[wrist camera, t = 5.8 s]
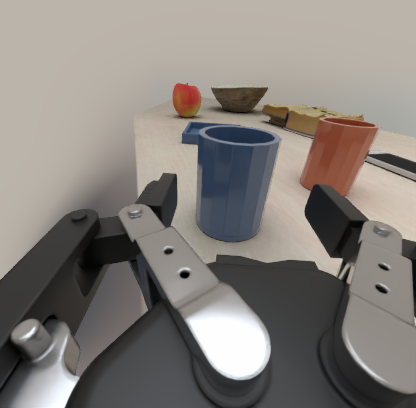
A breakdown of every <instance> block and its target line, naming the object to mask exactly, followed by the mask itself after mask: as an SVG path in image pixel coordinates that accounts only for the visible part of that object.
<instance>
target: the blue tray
mask: <svg viewBox="0 0 416 408" xmlns="http://www.w3.org/2000/svg"><path fill="white" fill-rule="evenodd" d="M221 125H229V126H230V125H232V124H217V123H202V122H189V124H188V125H187V127H186V129H185V130H184V132H183V133H182V143H188V144H198V133H199V131H200V129H203V128H205V127H210V126H221ZM232 126H241V125H232Z"/></svg>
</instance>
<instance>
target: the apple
mask: <svg viewBox="0 0 416 408" xmlns="http://www.w3.org/2000/svg"><path fill="white" fill-rule="evenodd" d="M173 104H174V107H175V109H176V111H177V112H178V114H179V115H181V116H182V117H192V116H194V115H195V114H196V113H197V112H198V110H199V108H200V106H201V94H200V92H199V90H198V88H197V87H195V86H189V85H188V83H187V85H186V84H176V85H175V87H174V90H173Z"/></svg>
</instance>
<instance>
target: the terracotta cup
mask: <svg viewBox="0 0 416 408" xmlns="http://www.w3.org/2000/svg"><path fill="white" fill-rule="evenodd" d="M380 128H381V127H380V126H379V125H377V124H374V123H371V122H365V121H361V120H354V119H346V118H335V117H323V118H319V121H318V125H317V128H316V131H315V134H314V137H313V140H312V143H311V147H310V150H309V153H308V156H307V159H306V162H305V165H304V169H303V172H302V175H301V179H300V182H301V184H302V185H303V186H304V187H306V188H307V189H309V190H312V188H313V186H314V185H315V184H323V185H331V186H332V187H333V188H334V189H335V190H336V191H337V192H338V193H339V194H340V195H341V196H345V195H347V194H349V192H350V190H351V189H352V187H353V185H354V183H355V181H356V179H357V177H358V174H359V172H360V170H361V168H362V166H363V164H364V162H365V160H366V158H367V156H368V153H369V151H370V149H371V147H372V145H373V143H374V141H375V139H376V137H377V135H378V133H379V130H380Z"/></svg>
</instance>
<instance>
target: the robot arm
mask: <svg viewBox="0 0 416 408" xmlns="http://www.w3.org/2000/svg"><path fill="white" fill-rule="evenodd" d="M176 207H177V175H176V174H170V173H163V174H162V176H161V178H160V179H159V181H152V182H151V183H149V184H147V186H146V187H145V190H143V192H142V194H141V195H140V197H139V198H138V200H137V201H136V203H135V204H133V205H129V206H126V207H124V208H122V209H121V210H120V212H119V214H118V216H115V217H108V218H99V216H98V213H97V212H96V211H94V210H91V209H82V210H77V211H73V212H71V213H69V214H67V215H65V216H64V217H63V218H62V219H61V220H60V221H59V222H58V223H57V224H56V225H55V226H54V227H53V228H52V229H51V230H50V231H49V232H48V233H47V234H46V235H45V236H44V237H43V238H42V239H41V240H40V241H39V242H38V243H37V244H36V245H35V246H34V247H33V248H32V249H31V250H30V251H29V252H28V253H27V254H26V255H25V256H24V257H23V258H22V259H21V260H20V261H19V262H18V263H17V264H16V265H15V266H14V267H13V268H12V269H11V270H10V271H9V272H8V273H7V274H6V275H5V276H4V277H3V278H2V279H1V280H0V408H416V326H415V322H414V316H415V318H416V242H414V241H410V240H406V239H402V235H401V234H400V233H399V232H398V231H397V230H396V229H394V228H393V227H391V226H389V225H387V224H384V223H381V222H378V221H370V220H369V219H367V218H366V217H365V216H364V215H363V214H362V213H361V212H360V211H359V210H358V209H357V208H356V207H355V206H354V205H352V203H351V202H350V201H349V200H348V199H346V198H345V197H343V196H341V195H340V194H339V193H338V192H337V191H336V190H335V189H334V188H333V187H332V186H331V185H323V184H315V185H314V186H313V188H312V190H311V193H310V196H309V198H308V201H307V204H306V207H305V217H306V218H307V220H308V222H309V223H310V225H311V227H312V228H313V230H314V231H315V233H316V235H317V236H318V238H319V240H320V241H321V243H322V244H323V246H324V248H325V249H326V251H327V252H328V254H329V256H330V257H331V258H342V259H343V260H342V262H341V264H340V266H339V269H338V272H337V274H336V277H335V276H334V275H331V274H329V273H327V272H324V271H321V270H318V268H317V266H316V264H315V262H312V261H299V260H286V261H279V262H272V263H264V262H260V261H257V260H253V259H249V258H245V257H242V256H230V255H217V257H216V262H212V263H208V264H205V263H204V262H203V261H202V260H201V258H200V257H199V256H198V255H197V254H196V252H195V251H194V250H193V249H192V248H191V247H190V245H189V244H188V243H187V242H186V241H185V239H184V238H183V237H182V236H181V235H180V233H179V232H178V231H177V230H176V229H175V228H174V227H173V226H171V222H172V219H173V216H174V213H175V210H176ZM123 261H128V262H129V264H130V266H131V268H132V271H133V273H134V275H135V277H136V279H137V282H138V284H139V286H140V288H141V290H142V293H143V296H144V300H145V303H146V305H147V308H148V311H147V312H146V313H145V314H144V315H143V316H141V317H140V318H139V319H138V320H137V321H136V322H135V323H134V324H133V325H132V326H130V327H129V328H128V329H127V330H126V331H125V332H124V333H123V334H122V335H120V336H119V337H118V338H117V339H116V340H115V341H114V342H113V343H111V344H110V345H109V346H108V347H107V348H106V349H105V350H104V351H103V352H102V353H100V355H98V356H97V357H96V358H95V359H94V360H93V361H92V362H91V363H90V365H89V366H88V367H87V368H86V370H85V371H84V372H83V374H82V375H81V377H77V376H76V367H77V364H78V361H79V356H80V347H79V345H78V343H77V341H76V339H75V338H74V336H75V333H76V332H77V329H78V328H79V325H80V323H81V321H82V320H83V317H84V316H85V314H86V312H87V310H88V307H89V305H90V303H91V301H92V299H93V297H94V295H95V293H96V291H97V289H98V287H99V285H100V283H101V281H102V279H103V277H104V275H105V273H106V271H107V269H108V267H109V265H110V264H112V263H118V262H123Z"/></svg>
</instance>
